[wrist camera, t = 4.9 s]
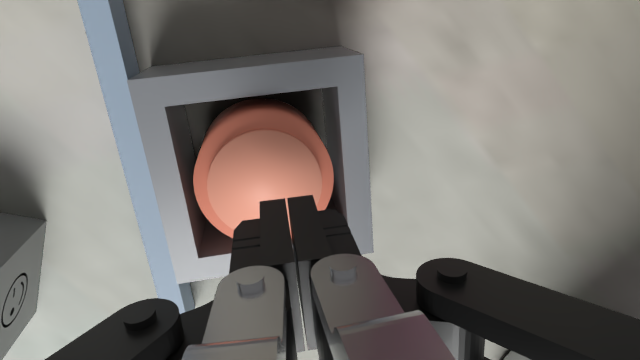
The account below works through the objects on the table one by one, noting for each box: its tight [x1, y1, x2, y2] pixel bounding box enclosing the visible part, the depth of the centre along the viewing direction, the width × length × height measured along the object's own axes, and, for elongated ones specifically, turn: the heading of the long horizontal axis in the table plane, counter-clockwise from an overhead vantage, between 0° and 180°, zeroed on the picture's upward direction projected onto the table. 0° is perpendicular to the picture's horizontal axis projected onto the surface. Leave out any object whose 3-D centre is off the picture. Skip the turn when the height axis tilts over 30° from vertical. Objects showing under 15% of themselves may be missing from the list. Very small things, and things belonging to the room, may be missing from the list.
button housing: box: [127, 46, 374, 284], centre depth 18 cm, size 8×8×4 cm
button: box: [193, 98, 334, 239], centre depth 17 cm, size 5×5×3 cm
